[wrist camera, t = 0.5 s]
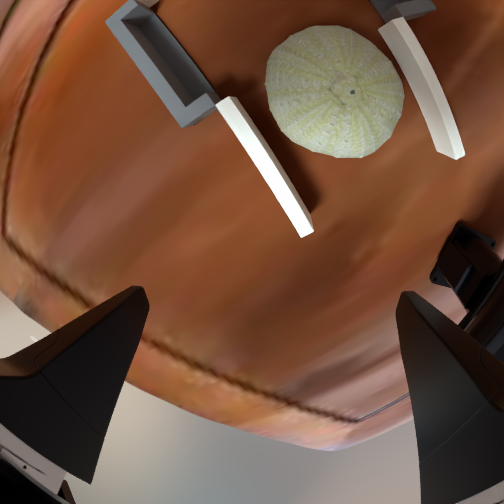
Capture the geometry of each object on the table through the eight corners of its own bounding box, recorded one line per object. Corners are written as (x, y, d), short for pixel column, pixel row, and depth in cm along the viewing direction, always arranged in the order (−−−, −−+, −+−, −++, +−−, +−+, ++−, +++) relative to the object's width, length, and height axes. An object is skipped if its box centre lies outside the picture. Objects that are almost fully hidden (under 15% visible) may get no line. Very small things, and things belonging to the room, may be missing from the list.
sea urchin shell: (351, 0, 11) (435, 61, 8) (369, 75, 18) (425, 142, 15) (229, 52, 14) (273, 128, 11) (275, 117, 21) (315, 193, 18)
